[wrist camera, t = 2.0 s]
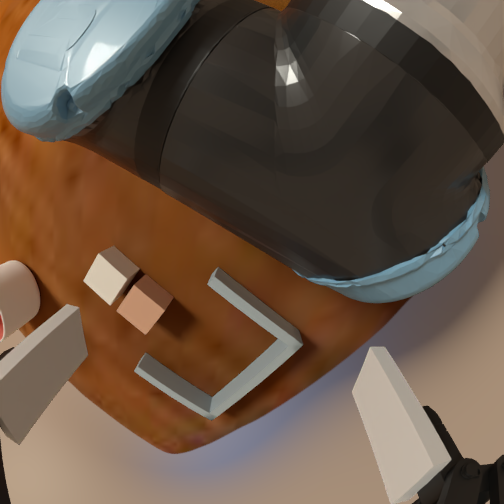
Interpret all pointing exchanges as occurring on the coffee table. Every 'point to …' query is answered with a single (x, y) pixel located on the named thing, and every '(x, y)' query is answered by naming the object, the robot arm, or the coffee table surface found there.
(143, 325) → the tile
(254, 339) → the coffee table surface
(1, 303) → the cup
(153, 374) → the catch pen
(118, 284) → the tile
